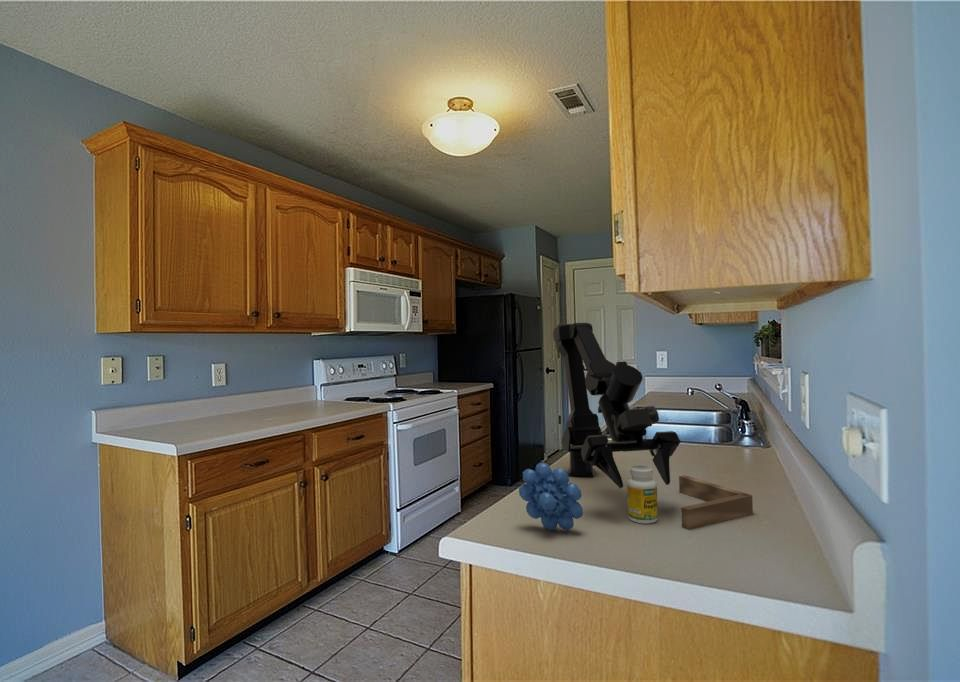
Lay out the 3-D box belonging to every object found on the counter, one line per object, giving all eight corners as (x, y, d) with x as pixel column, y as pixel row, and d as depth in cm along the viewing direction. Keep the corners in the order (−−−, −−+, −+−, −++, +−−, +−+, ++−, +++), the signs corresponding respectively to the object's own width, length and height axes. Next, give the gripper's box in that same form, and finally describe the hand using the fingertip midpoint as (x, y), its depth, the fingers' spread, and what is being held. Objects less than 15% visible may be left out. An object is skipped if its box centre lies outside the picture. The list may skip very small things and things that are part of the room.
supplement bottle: (640, 512, 96) (639, 463, 96) (664, 520, 91) (662, 468, 92) (621, 518, 93) (620, 467, 93) (645, 526, 88) (643, 473, 89)
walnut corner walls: (625, 503, 101) (624, 486, 101) (684, 491, 108) (684, 475, 108) (689, 529, 86) (688, 509, 86) (753, 513, 93) (752, 495, 93)
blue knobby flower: (513, 535, 86) (511, 466, 86) (523, 521, 92) (521, 458, 93) (579, 543, 82) (578, 471, 82) (585, 528, 88) (584, 461, 88)
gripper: (584, 394, 95) (609, 465, 84) (674, 390, 98) (709, 458, 87) (572, 428, 103) (593, 497, 92) (655, 424, 105) (685, 490, 94)
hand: (645, 485), depth 91 cm, fingers open, 9 cm apart
